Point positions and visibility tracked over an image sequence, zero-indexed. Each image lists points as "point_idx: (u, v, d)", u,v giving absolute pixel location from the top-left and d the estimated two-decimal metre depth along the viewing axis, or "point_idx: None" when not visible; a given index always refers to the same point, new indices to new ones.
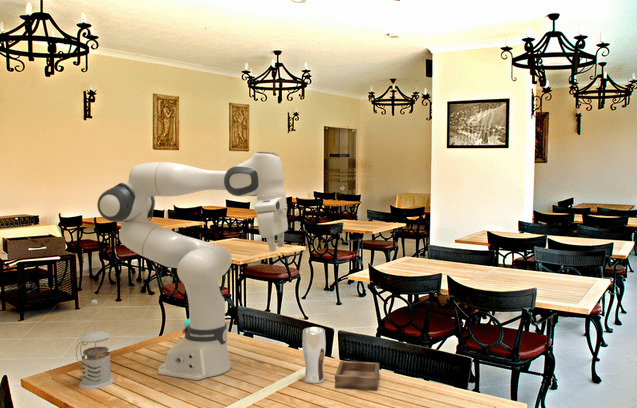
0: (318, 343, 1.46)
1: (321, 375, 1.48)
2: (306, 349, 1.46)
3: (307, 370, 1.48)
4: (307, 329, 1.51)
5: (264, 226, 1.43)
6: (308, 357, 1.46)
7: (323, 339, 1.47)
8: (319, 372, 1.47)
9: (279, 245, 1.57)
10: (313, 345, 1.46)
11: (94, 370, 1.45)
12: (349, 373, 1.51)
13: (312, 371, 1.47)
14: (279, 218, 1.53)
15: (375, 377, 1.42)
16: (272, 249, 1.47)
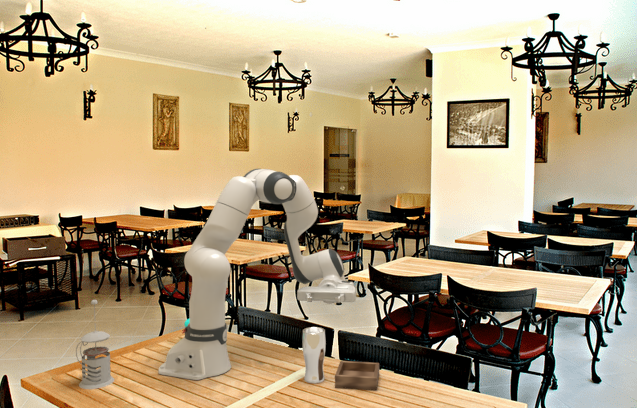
0: (318, 343, 1.46)
1: (321, 375, 1.48)
2: (306, 349, 1.46)
3: (307, 370, 1.48)
4: (307, 329, 1.51)
5: None
6: (308, 357, 1.46)
7: (323, 339, 1.47)
8: (319, 372, 1.47)
9: (311, 298, 1.66)
10: (313, 345, 1.46)
11: (94, 370, 1.45)
12: (349, 373, 1.51)
13: (312, 371, 1.47)
14: None
15: (375, 377, 1.42)
16: (339, 300, 1.64)
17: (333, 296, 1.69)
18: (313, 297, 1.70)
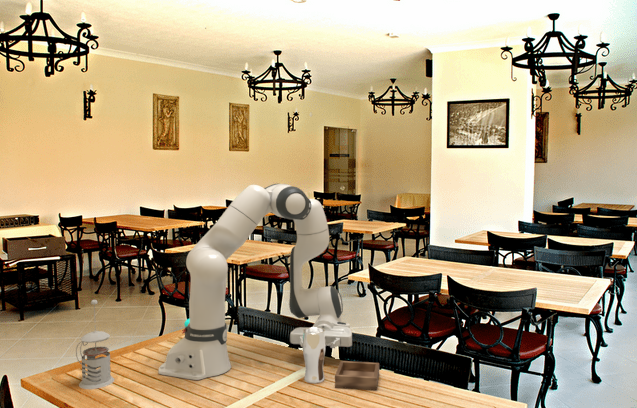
0: (318, 343, 1.46)
1: (321, 375, 1.48)
2: (306, 349, 1.46)
3: (307, 370, 1.48)
4: (307, 329, 1.51)
5: None
6: (308, 357, 1.46)
7: (323, 339, 1.47)
8: (319, 372, 1.47)
9: None
10: (313, 345, 1.46)
11: (94, 370, 1.45)
12: (349, 373, 1.51)
13: (312, 371, 1.47)
14: None
15: (375, 377, 1.42)
16: (335, 345, 1.55)
17: (328, 340, 1.60)
18: None
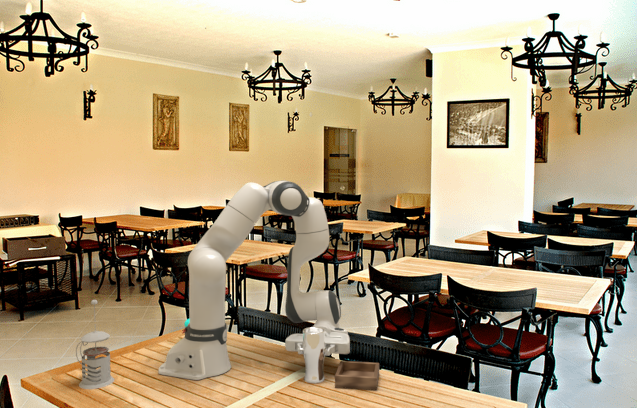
0: (318, 343, 1.46)
1: (321, 375, 1.48)
2: (306, 349, 1.46)
3: (307, 370, 1.48)
4: (307, 329, 1.51)
5: None
6: (308, 357, 1.46)
7: (323, 339, 1.47)
8: (319, 372, 1.47)
9: None
10: (313, 344, 1.46)
11: (94, 370, 1.45)
12: (349, 373, 1.51)
13: (312, 371, 1.47)
14: None
15: (375, 377, 1.42)
16: (329, 353, 1.48)
17: None
18: None
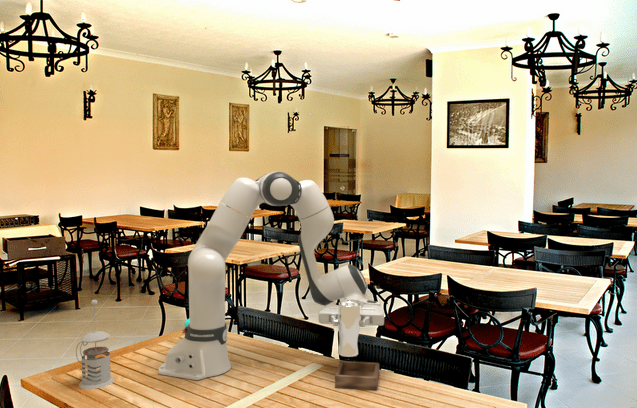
0: (354, 316, 1.45)
1: (355, 349, 1.47)
2: (342, 322, 1.45)
3: (341, 343, 1.47)
4: (342, 303, 1.50)
5: None
6: (343, 330, 1.45)
7: (359, 313, 1.46)
8: (353, 346, 1.46)
9: (337, 322, 1.48)
10: (349, 317, 1.45)
11: (94, 370, 1.45)
12: (349, 373, 1.51)
13: (347, 344, 1.46)
14: None
15: (375, 377, 1.42)
16: (364, 324, 1.47)
17: None
18: None
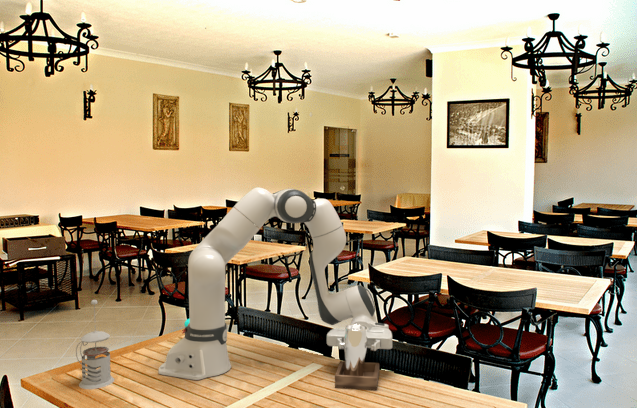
0: (361, 340, 1.45)
1: (361, 373, 1.46)
2: (348, 346, 1.45)
3: (348, 367, 1.47)
4: (349, 326, 1.50)
5: None
6: (350, 354, 1.45)
7: (366, 336, 1.46)
8: (359, 370, 1.46)
9: None
10: (355, 341, 1.44)
11: (94, 370, 1.45)
12: None
13: (353, 368, 1.46)
14: None
15: (375, 377, 1.42)
16: (375, 348, 1.47)
17: (367, 342, 1.52)
18: None
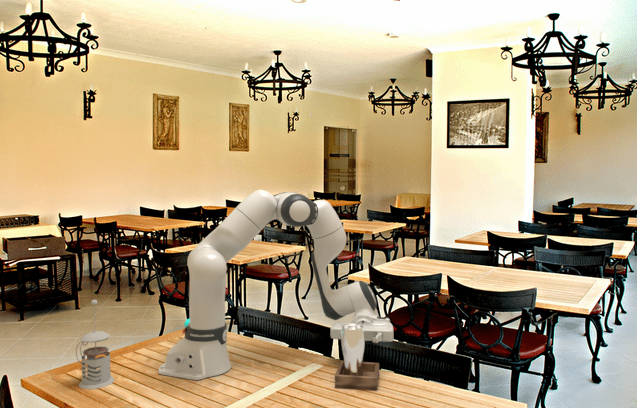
0: (358, 339, 1.45)
1: (361, 372, 1.47)
2: (345, 345, 1.46)
3: (347, 367, 1.47)
4: (345, 326, 1.51)
5: None
6: (348, 353, 1.46)
7: (362, 335, 1.47)
8: (358, 369, 1.46)
9: None
10: (352, 340, 1.45)
11: (94, 370, 1.45)
12: None
13: (352, 368, 1.46)
14: None
15: (375, 377, 1.42)
16: (377, 340, 1.52)
17: (369, 335, 1.58)
18: None
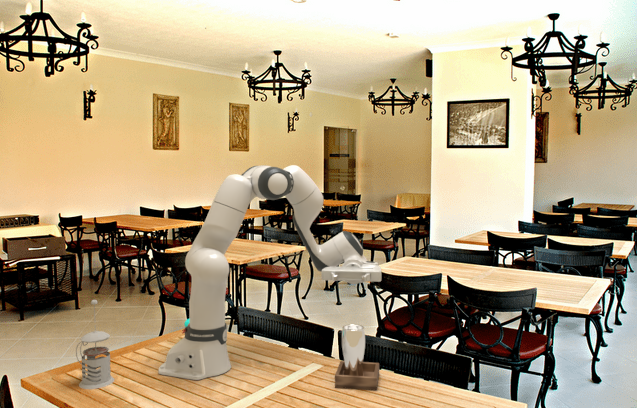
0: (359, 340, 1.45)
1: (361, 372, 1.47)
2: (346, 346, 1.45)
3: (347, 367, 1.47)
4: (346, 326, 1.50)
5: None
6: (348, 354, 1.45)
7: (363, 336, 1.46)
8: (359, 370, 1.46)
9: (336, 277, 1.62)
10: (353, 341, 1.45)
11: (94, 370, 1.45)
12: None
13: (352, 368, 1.46)
14: None
15: (375, 377, 1.42)
16: (366, 279, 1.60)
17: (358, 275, 1.65)
18: (338, 276, 1.66)
